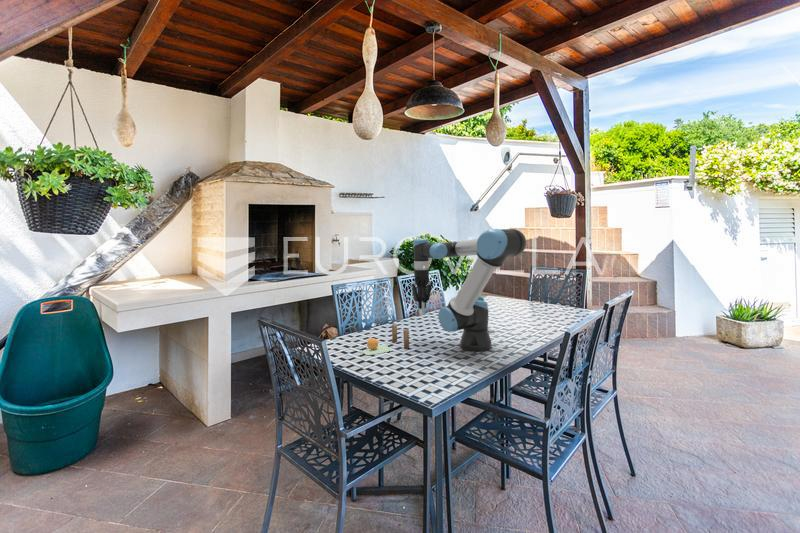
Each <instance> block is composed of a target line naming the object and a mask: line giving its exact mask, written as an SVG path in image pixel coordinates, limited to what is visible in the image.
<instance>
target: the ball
mask: <svg viewBox="0 0 800 533" xmlns="http://www.w3.org/2000/svg"><path fill="white" fill-rule="evenodd" d="M378 344H379V341H378V339H377V338H374V337H371V338H369V339H368V340H367V342H366V346H368V348H369V349H371V350H374V349H376V348H377V347H378Z"/></svg>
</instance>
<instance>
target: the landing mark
mask: <svg viewBox="0 0 800 533" xmlns="http://www.w3.org/2000/svg"><path fill="white" fill-rule="evenodd" d="M383 344H384V343H383ZM383 344H382V345H378V347H377V348H376V349H374V350H369V351H367V350H366V351H365V350H364V351H362V350H361V351H362V353H363V354H364V353H365V355H366V356H367V355H368V356H373V354H374V355H378V353H379V354H384V352H385V353H388V352H389V351H390V352H395V350H394V349H393V348H391V347H389V346H388V345H386V344H384V345H383ZM361 351H360V352H361ZM390 352H389V353H390Z"/></svg>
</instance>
